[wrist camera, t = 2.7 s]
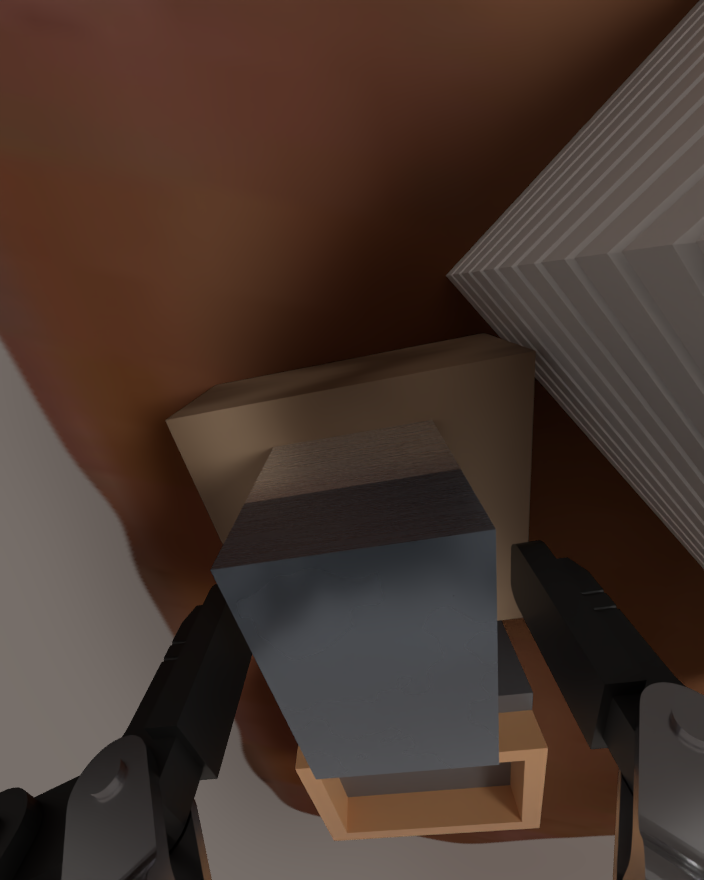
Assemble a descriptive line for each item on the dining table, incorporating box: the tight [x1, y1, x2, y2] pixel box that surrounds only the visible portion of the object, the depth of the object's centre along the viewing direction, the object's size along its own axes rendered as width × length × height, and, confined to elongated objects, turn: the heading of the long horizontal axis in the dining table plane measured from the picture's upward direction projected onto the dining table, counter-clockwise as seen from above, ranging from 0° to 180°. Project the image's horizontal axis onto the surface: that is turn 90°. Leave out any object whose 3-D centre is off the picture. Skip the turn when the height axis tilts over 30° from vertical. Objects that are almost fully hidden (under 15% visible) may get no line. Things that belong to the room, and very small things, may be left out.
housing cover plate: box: [211, 469, 499, 779], centre depth 8 cm, size 5×8×2 cm, turn 11°
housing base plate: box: [245, 420, 460, 503], centre depth 10 cm, size 5×8×3 cm, turn 11°
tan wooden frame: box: [295, 620, 548, 841], centre depth 20 cm, size 12×12×6 cm
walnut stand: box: [165, 333, 536, 621], centre depth 14 cm, size 11×11×4 cm
